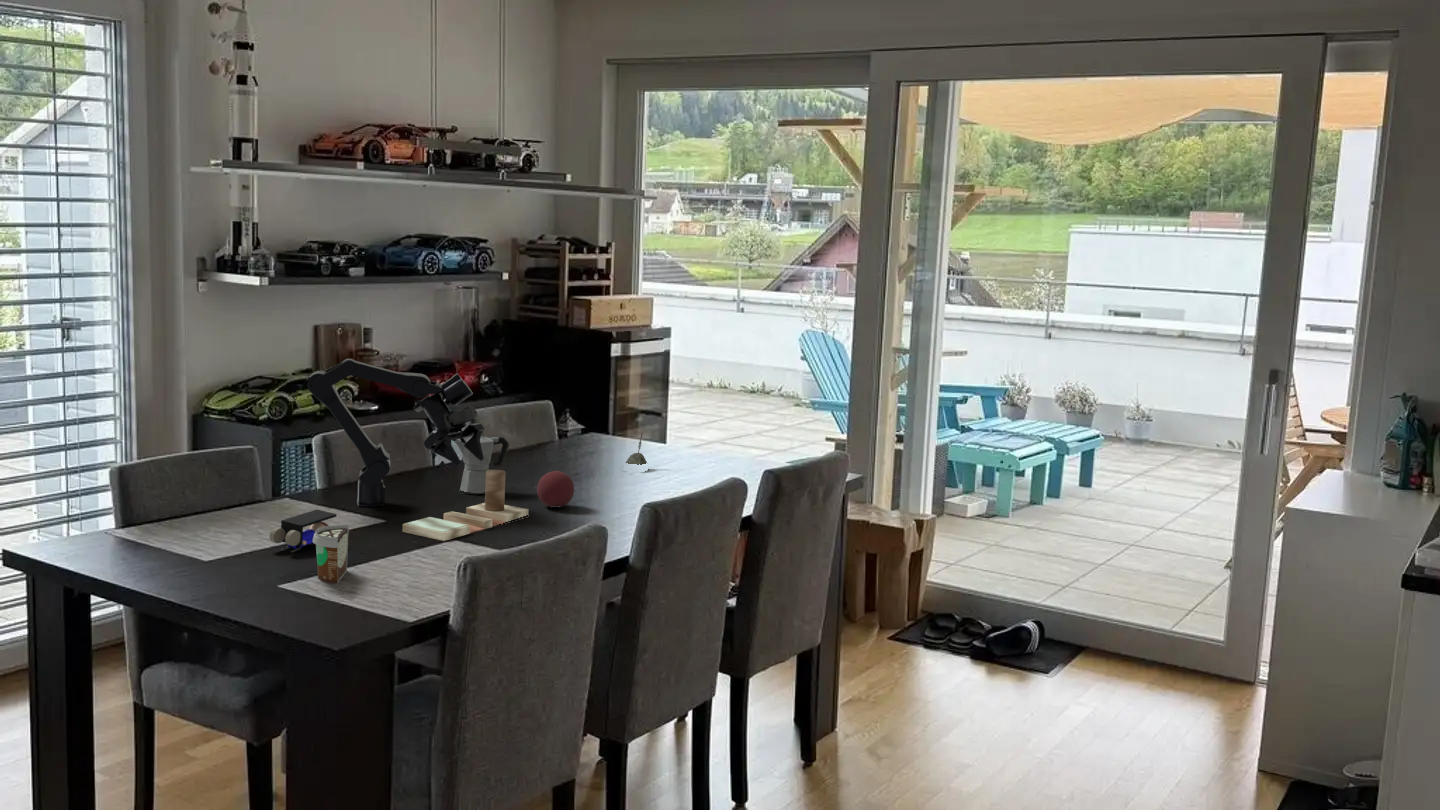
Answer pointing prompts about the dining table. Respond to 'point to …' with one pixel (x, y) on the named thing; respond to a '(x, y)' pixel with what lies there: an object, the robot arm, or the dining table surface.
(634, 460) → the sword in stone
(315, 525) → the figurine character
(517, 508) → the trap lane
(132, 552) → the dining table surface
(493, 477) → the walnut cylinder
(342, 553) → the food container
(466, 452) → the coffeepot
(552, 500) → the decorative ball
